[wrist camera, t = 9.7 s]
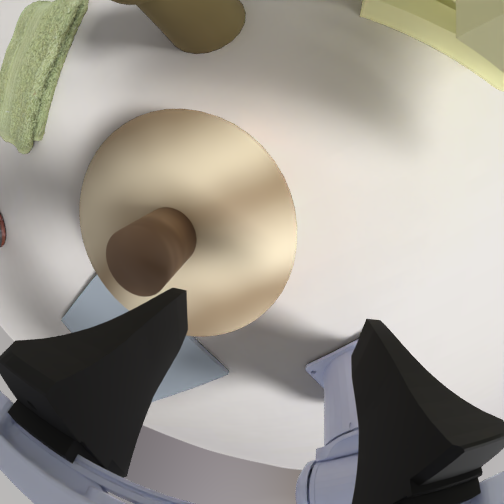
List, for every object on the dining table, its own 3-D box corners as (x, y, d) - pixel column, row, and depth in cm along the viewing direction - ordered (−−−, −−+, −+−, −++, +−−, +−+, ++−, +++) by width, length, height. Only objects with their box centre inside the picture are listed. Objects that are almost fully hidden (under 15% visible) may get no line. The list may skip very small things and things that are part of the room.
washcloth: (-2, 129, 21) (-20, 132, 18) (41, 4, 13) (24, 0, 10) (43, 155, 21) (21, 160, 18) (103, -3, 14) (84, -12, 11)
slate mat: (229, 371, 26) (228, 374, 26) (146, 401, 32) (145, 403, 32) (116, 252, 23) (113, 254, 23) (63, 318, 29) (61, 320, 28)
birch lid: (343, 269, 16) (357, 315, 12) (172, 352, 21) (148, 394, 17) (196, 60, 12) (157, 35, 8) (60, 207, 18) (16, 227, 13)
